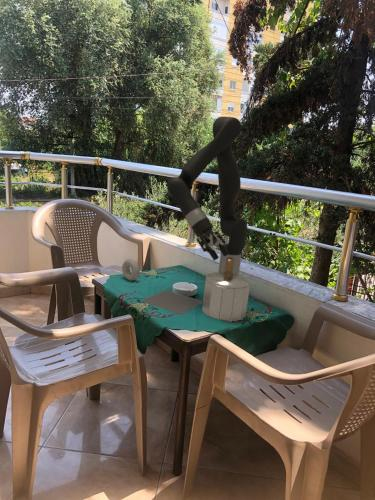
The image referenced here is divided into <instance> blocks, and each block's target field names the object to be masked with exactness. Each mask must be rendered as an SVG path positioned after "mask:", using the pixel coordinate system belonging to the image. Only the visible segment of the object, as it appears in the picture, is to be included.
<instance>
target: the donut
mask: <svg viewBox="0 0 375 500" xmlns="http://www.w3.org/2000/svg"><path fill="white" fill-rule="evenodd" d="M121 268H122V275H123V276H124V278H125V279H126V280H127V281H131V282H132V281H136V280H137V279H138V278H139V276H140V267H139V264H138V262H137V261H136V260H134V259H133V258H128V259H125V260H124V262H123V264H122V267H121Z"/></svg>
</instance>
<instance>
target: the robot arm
mask: <svg viewBox="0 0 375 500" xmlns="http://www.w3.org/2000/svg"><path fill="white" fill-rule="evenodd" d="M242 129H243V126H242V123H241V121H240V120H239V119H238V118H237V117H234V116H218V117H217V118H215V120H214V122H213V124H212V136H213V138H212V140H211V141H210V142H208V143H207V144H206V145H204V147H202V148H201V149H199V150H198V151H197V152H196V153H194V154H193V155H192V156H191V157H190V158H189V159H188V161H186V163H185V164H184V165H183V166H182V168H181V172H180V174H179V175H178V176H174V177H171V178H169V179H168V180H167V183H166V188H167V191H168V194H169V195H170V197H171V198H173V199H174V201H175V202H176V204H177V206H178V207H179V210H180V212H181V213H182V215H183V216H184V218H185V220H186V223H187V225H188V226H189V227H190V228H191V230H192V232H193V233H194V234H195V236H196V241H197V243H198V244H199V246H200V248H201V249H202V251H203V252H204V253H205V252H206V253H208V254H209V256H210V257H211V258H212V260H213V261H216V260H218V259H219V265H218V272H225V264H226V258H233V259H235V261H234V269H233V274H237V275H239V274H240V268H241V259H242V253H243V250H244V249H245V248H244V247H245V244H246V239H247V233H248V223H247V221H246V220H245V219H243V218H241V217H237V216H236V214H235V213H236V212H235V203H236V200H237V198H238V196H239V194H240V191H241V185H242V184H241V172H240V168H239V165H238V163H237V160H236V158H235V156H234V152H233V148H232V143H234V142H235V141H236V139H238V138H239V136H241V134H242V133H241V132H242ZM215 159H216V167H217V178H218V179H217V180H218V181H217V182H218V189H219V190H218V191H219V204H220V207H219V209H220V213H219V214H220V215H219V216H220V217H219V226H220V230H221V231H220V232H221V233H222V235H225V236H226V237H228V238H229V240H228V242H227V243H226V241H225V239H224V238H223V237H222V235H221V234H220V232H219V231H218V230H216V231H213V228H214V225H213V223H212V222H211V221H210V219H209V217H208V216H207V214H206V213H205V212H204V210H203V209H202V208H201V206H200V205H199V203H198V202H197V201H196V199H195V198H194V196H193V195H192V193H191V191H190V189H191V187H192V186H193V184H194V182H195V181H196V180H197V179H198V178H199V177H200V176H201V174H202V173H203V172H204V171H205V170H206V169H207V167H208V166H209V165H210V164H211V163H212V161H214V160H215ZM213 246H214V247H217V248H218V250H219V251H220V257H219V255H218V253H217V252H216V250H215V249H214V247H213Z"/></svg>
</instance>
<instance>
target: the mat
mask: <svg viewBox="0 0 375 500" xmlns="http://www.w3.org/2000/svg"><path fill="white" fill-rule="evenodd" d="M173 292H174V291H171V290H168V289H165V290H162V291H161V292H158V293H155V294H153V295H150V296H148V297H146V298H144V299H141V300H140V302H142V303H146V304H148V305H152V306H154V307H158V308H160V309H162V310H165V311H169V312H171V313H175V314H177V315H183V314H185V313H186V312H189V311H190V310H193V309H194V308H196V307H198V306H200V305H203V301H202V300H200V299H196V298H194V297H191V296H187V295H185V296H179V295H176V294H174V293H173Z"/></svg>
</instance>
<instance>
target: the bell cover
mask: <svg viewBox="0 0 375 500" xmlns="http://www.w3.org/2000/svg"><path fill="white" fill-rule="evenodd" d="M234 261H235V259H233V258H226V264H225V272H219V271H218V272H217V271H216V272H211V273H208V274H207V275H206V276H205V282H204V291H203V299H202V300H203V303H202V308H201V309H202V312H203V313H204V314H205V315H206V316H208V317H210V318H214V319H216V320H219V321H221V320H222V321H226V323H227V322H228V323H233V322H232V321H235V322H238V321H237V320H241V319H242V318H244V317H245V318H246V315H247V307H248V301H249V294H250V287H251V281H250V280H249V279H248V278H247V277H245V276H244V275H243V276H242V275H237V274H233V269H234ZM245 318H244V319H245ZM242 320H243V319H242ZM242 320H241V321H242Z"/></svg>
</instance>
